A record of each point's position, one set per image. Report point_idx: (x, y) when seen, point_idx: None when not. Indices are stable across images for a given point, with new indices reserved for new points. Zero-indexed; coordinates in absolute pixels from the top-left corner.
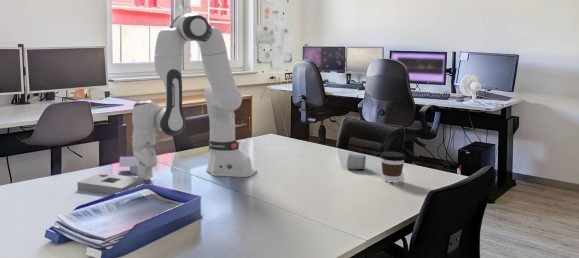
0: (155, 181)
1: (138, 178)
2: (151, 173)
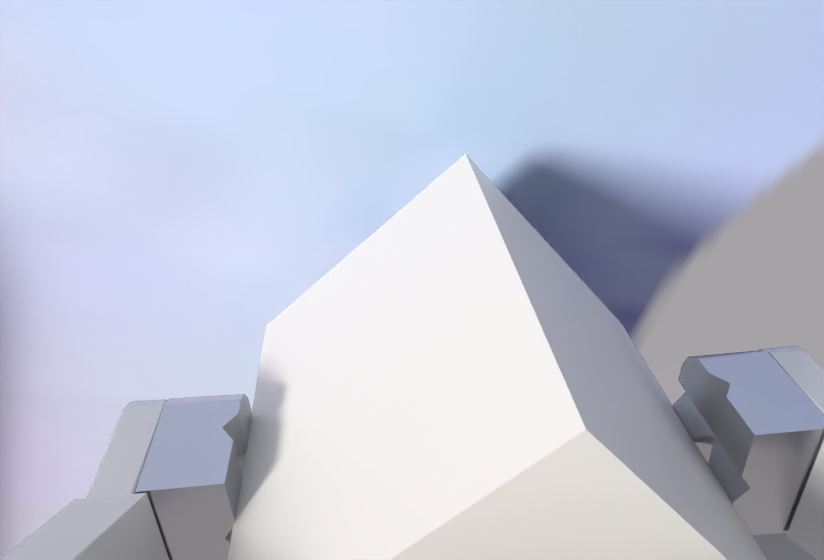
0: (629, 98)
1: (771, 556)
2: (527, 243)
